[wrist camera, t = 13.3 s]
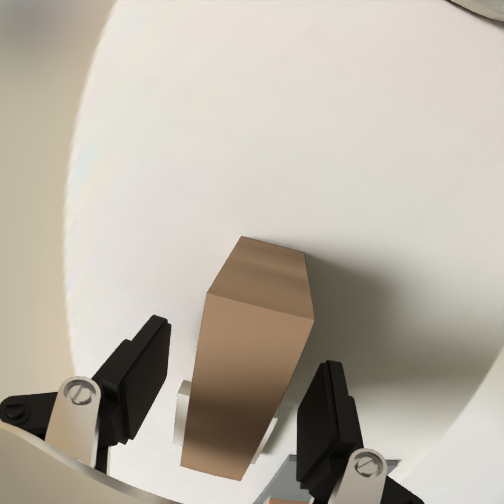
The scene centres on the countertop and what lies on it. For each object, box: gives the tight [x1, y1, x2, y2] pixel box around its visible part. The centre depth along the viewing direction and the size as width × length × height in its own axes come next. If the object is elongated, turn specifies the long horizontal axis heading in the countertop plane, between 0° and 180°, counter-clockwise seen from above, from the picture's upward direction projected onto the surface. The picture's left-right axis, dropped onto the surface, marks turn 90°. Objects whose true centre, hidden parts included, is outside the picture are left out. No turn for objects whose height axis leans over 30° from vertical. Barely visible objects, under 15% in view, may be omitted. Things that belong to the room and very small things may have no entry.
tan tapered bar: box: [173, 236, 315, 481], centre depth 11 cm, size 13×5×5 cm, turn 167°
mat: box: [253, 455, 398, 504], centre depth 17 cm, size 16×8×1 cm, turn 167°
